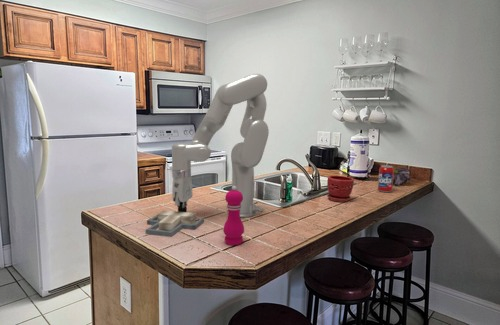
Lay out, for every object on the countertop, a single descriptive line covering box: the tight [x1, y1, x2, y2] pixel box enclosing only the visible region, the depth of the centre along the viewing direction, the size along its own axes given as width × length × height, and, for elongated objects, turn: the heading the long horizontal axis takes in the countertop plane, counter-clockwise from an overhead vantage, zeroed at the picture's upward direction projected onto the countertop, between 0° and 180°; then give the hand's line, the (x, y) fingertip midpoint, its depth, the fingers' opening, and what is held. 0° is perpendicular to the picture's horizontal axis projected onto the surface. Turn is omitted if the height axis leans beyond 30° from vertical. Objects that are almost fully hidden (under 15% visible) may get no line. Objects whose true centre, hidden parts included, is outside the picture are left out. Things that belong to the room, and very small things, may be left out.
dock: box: [145, 214, 205, 238], centre depth 128 cm, size 20×18×2 cm
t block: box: [157, 210, 197, 231], centre depth 128 cm, size 14×14×4 cm
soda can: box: [377, 164, 395, 193], centre depth 192 cm, size 8×8×15 cm
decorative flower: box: [393, 167, 412, 187], centre depth 213 cm, size 15×12×15 cm
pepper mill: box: [222, 186, 245, 246], centre depth 113 cm, size 7×7×20 cm
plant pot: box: [326, 175, 355, 203], centre depth 172 cm, size 13×13×12 cm
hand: (182, 216), depth 138 cm, fingers closed
